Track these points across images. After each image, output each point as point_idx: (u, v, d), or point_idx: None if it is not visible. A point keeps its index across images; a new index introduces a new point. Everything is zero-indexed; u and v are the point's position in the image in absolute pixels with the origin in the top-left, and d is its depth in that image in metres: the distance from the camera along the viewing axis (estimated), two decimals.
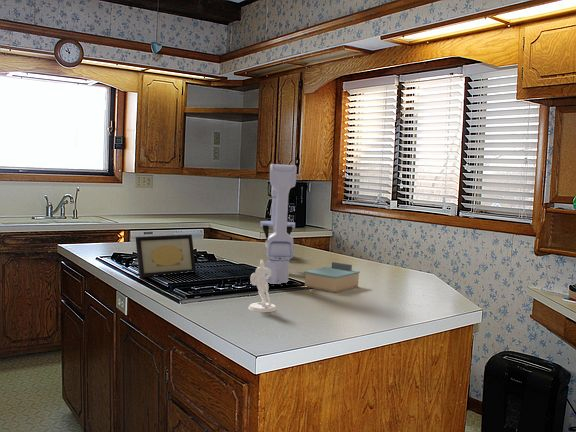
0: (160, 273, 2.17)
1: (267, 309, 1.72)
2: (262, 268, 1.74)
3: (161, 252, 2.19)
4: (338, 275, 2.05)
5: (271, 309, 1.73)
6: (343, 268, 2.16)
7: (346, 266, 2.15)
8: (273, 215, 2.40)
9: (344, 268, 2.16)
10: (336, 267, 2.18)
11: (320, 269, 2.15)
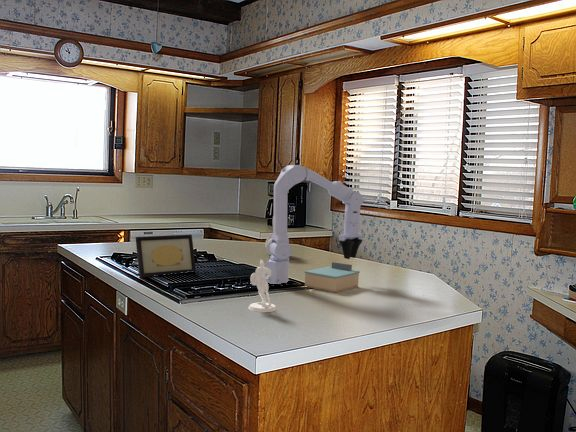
0: (160, 273, 2.17)
1: (267, 309, 1.72)
2: (262, 268, 1.74)
3: (161, 252, 2.19)
4: (338, 275, 2.05)
5: (271, 309, 1.73)
6: (343, 268, 2.16)
7: (346, 266, 2.15)
8: None
9: (344, 268, 2.16)
10: (336, 267, 2.18)
11: (320, 269, 2.15)
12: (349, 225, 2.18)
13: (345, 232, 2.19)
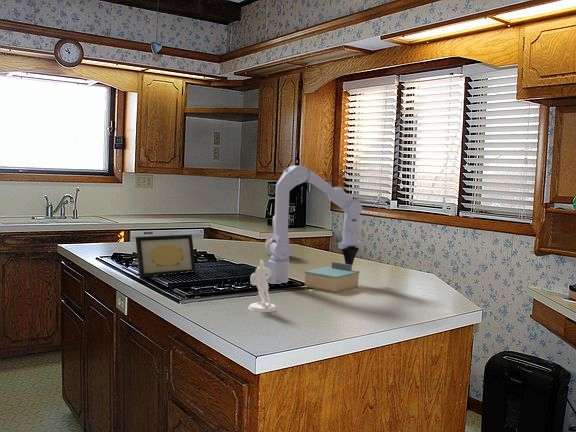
0: (160, 273, 2.17)
1: (267, 309, 1.72)
2: (262, 268, 1.74)
3: (161, 252, 2.19)
4: (338, 275, 2.05)
5: (271, 309, 1.73)
6: (343, 268, 2.16)
7: (346, 266, 2.15)
8: None
9: (344, 268, 2.16)
10: (336, 267, 2.18)
11: (320, 269, 2.15)
12: (348, 233, 2.18)
13: (344, 240, 2.19)
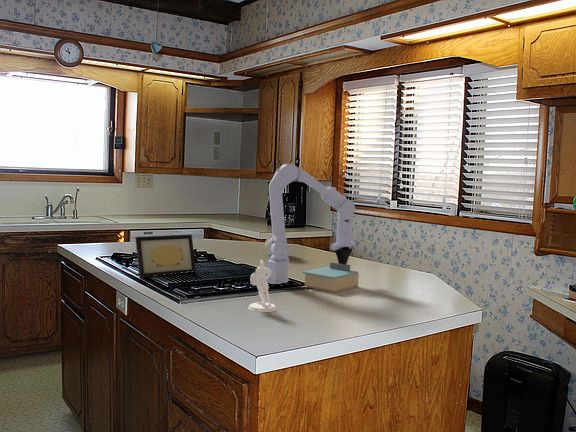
0: (160, 273, 2.17)
1: (267, 309, 1.72)
2: (262, 268, 1.74)
3: (161, 252, 2.19)
4: (336, 275, 2.04)
5: (271, 309, 1.73)
6: (341, 268, 2.15)
7: (344, 266, 2.14)
8: None
9: (342, 268, 2.15)
10: (334, 267, 2.17)
11: (318, 269, 2.14)
12: (341, 234, 2.14)
13: (337, 241, 2.15)
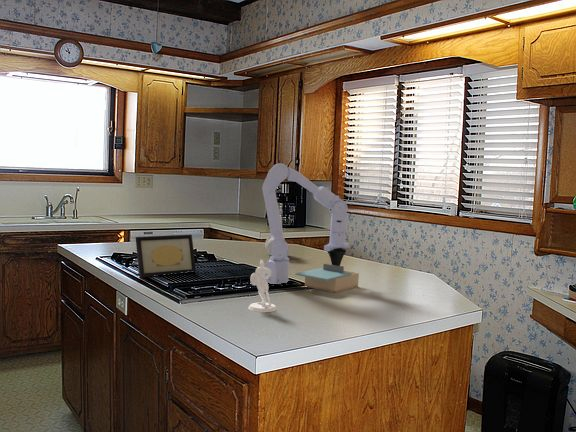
0: (160, 273, 2.17)
1: (267, 309, 1.72)
2: (262, 268, 1.74)
3: (161, 252, 2.19)
4: (329, 277, 2.00)
5: (271, 309, 1.73)
6: (335, 270, 2.12)
7: (338, 268, 2.11)
8: None
9: (336, 270, 2.11)
10: (328, 269, 2.13)
11: (311, 271, 2.10)
12: (335, 235, 2.10)
13: (331, 242, 2.12)
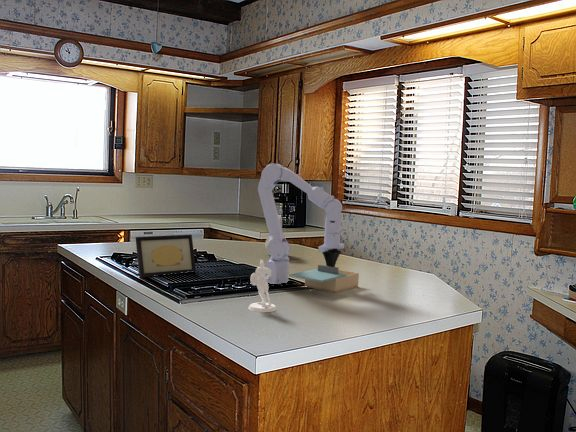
0: (160, 273, 2.17)
1: (267, 309, 1.72)
2: (262, 268, 1.74)
3: (161, 252, 2.19)
4: (323, 278, 1.97)
5: (271, 309, 1.73)
6: (329, 271, 2.09)
7: (332, 269, 2.08)
8: None
9: (330, 271, 2.08)
10: (322, 270, 2.10)
11: (305, 272, 2.07)
12: (329, 235, 2.07)
13: (325, 243, 2.09)
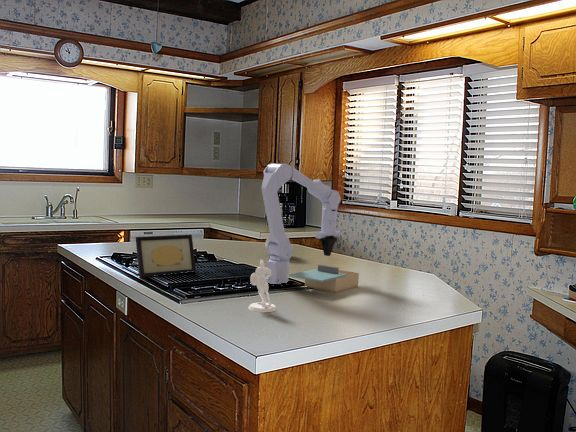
0: (160, 273, 2.17)
1: (267, 309, 1.72)
2: (262, 268, 1.74)
3: (161, 252, 2.19)
4: (323, 278, 1.97)
5: (271, 309, 1.73)
6: (329, 271, 2.09)
7: (332, 269, 2.08)
8: None
9: (330, 271, 2.08)
10: (322, 270, 2.10)
11: (305, 272, 2.07)
12: (326, 223, 2.22)
13: (322, 230, 2.23)
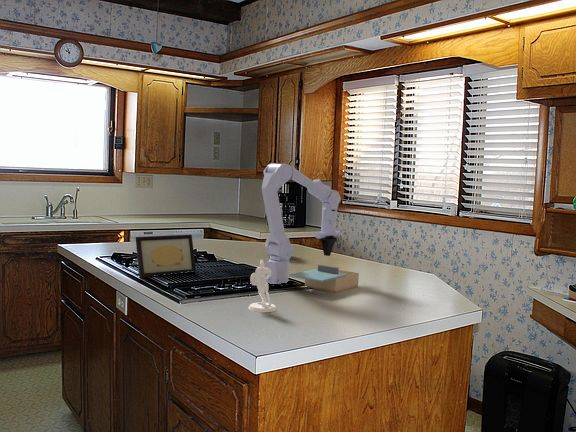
0: (160, 273, 2.17)
1: (267, 309, 1.72)
2: (262, 268, 1.74)
3: (161, 252, 2.19)
4: (323, 278, 1.97)
5: (271, 309, 1.73)
6: (329, 271, 2.09)
7: (332, 269, 2.08)
8: None
9: (330, 271, 2.08)
10: (322, 270, 2.10)
11: (305, 272, 2.07)
12: (326, 223, 2.22)
13: (322, 230, 2.23)
